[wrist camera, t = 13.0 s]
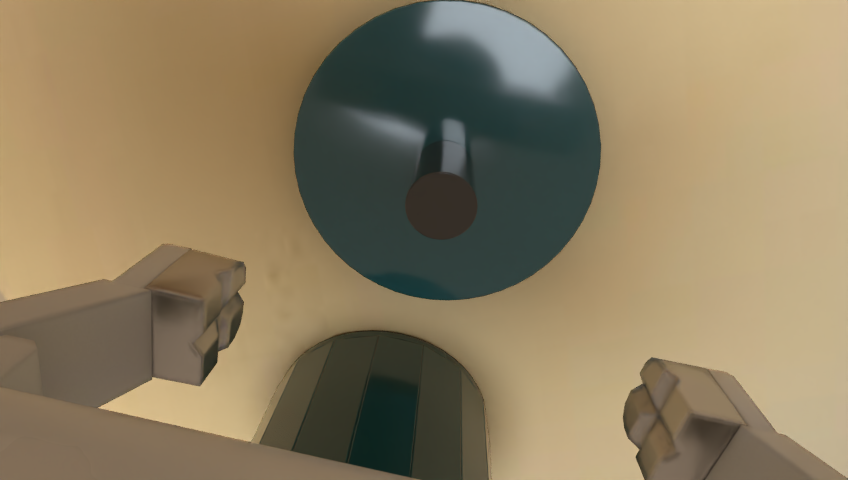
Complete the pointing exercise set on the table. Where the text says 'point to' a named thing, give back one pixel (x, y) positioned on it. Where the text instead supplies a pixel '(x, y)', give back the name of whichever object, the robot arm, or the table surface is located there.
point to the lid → (447, 149)
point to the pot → (382, 408)
